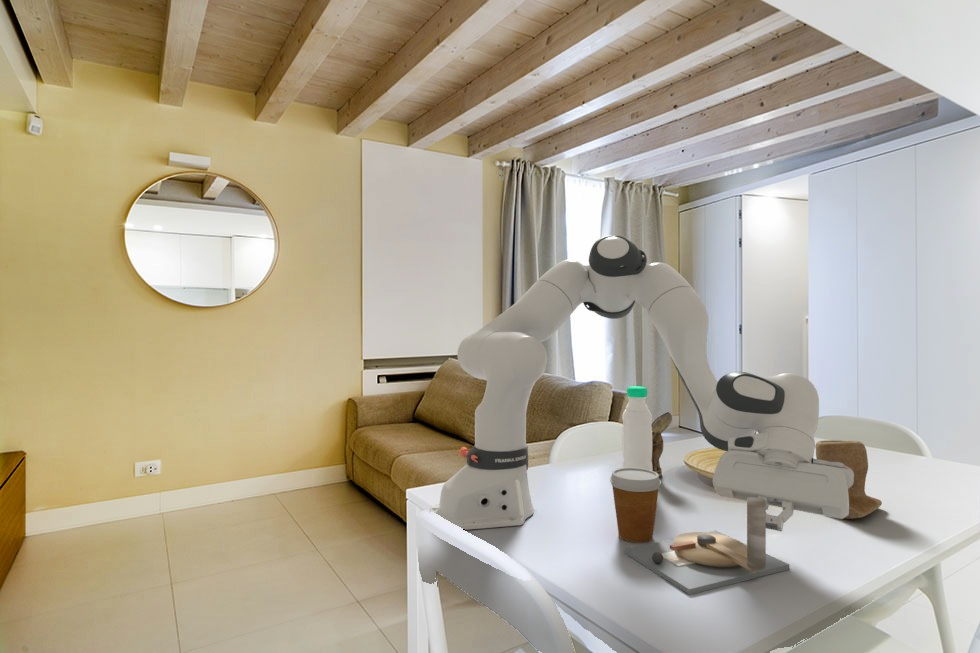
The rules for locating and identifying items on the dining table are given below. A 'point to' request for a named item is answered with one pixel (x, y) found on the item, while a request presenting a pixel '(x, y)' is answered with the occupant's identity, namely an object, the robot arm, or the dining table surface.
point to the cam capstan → (729, 543)
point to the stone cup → (857, 461)
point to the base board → (695, 567)
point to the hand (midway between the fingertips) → (771, 527)
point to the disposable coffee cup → (635, 502)
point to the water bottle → (637, 430)
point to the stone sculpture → (659, 440)
